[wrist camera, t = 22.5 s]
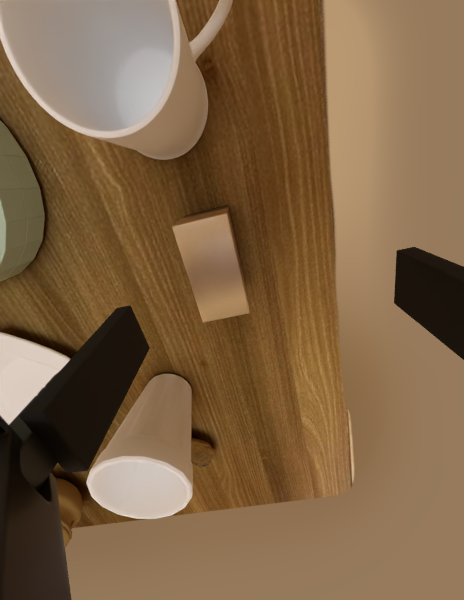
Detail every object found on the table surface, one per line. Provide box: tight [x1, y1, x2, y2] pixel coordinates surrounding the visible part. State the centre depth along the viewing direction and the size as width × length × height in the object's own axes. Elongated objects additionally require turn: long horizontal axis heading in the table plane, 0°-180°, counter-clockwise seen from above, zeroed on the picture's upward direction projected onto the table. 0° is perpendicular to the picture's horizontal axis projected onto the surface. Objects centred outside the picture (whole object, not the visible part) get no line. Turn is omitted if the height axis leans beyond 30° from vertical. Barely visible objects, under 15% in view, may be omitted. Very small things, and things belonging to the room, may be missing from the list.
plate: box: [0, 332, 70, 425], centre depth 35 cm, size 19×19×2 cm
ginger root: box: [191, 437, 216, 467], centre depth 39 cm, size 10×10×4 cm
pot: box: [55, 477, 82, 547], centre depth 41 cm, size 12×12×10 cm
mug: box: [0, 0, 233, 160], centre depth 16 cm, size 12×8×12 cm
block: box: [172, 205, 250, 322], centre depth 25 cm, size 9×4×6 cm, turn 13°
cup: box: [86, 374, 193, 519], centre depth 30 cm, size 10×10×13 cm
